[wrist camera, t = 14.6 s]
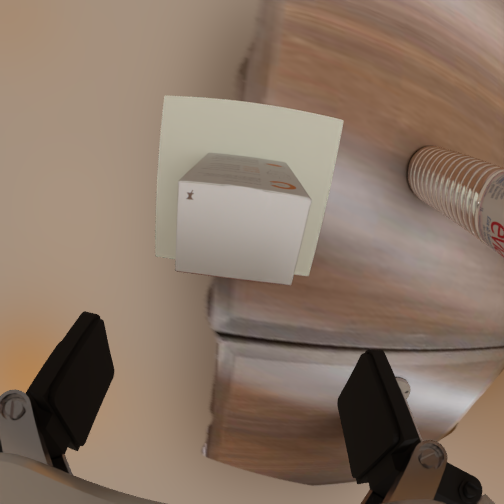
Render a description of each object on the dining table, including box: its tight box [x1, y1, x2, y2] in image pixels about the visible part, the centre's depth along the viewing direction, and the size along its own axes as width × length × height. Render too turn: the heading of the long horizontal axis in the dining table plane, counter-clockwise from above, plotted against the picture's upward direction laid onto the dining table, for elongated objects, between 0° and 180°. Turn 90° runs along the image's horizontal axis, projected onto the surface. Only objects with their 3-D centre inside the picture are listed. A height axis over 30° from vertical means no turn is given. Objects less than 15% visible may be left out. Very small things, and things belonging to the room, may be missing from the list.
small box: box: [175, 153, 312, 285], centre depth 24 cm, size 8×6×13 cm
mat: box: [155, 96, 344, 276], centre depth 30 cm, size 18×18×1 cm
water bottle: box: [408, 146, 504, 257], centre depth 18 cm, size 7×7×25 cm
